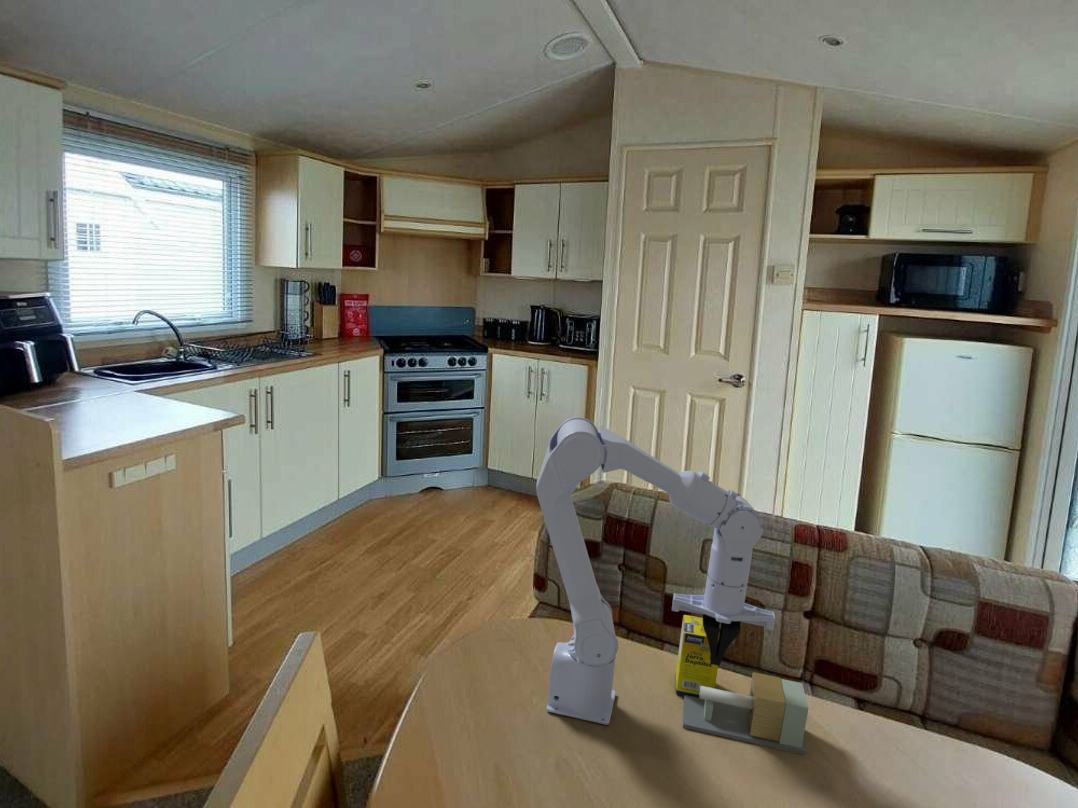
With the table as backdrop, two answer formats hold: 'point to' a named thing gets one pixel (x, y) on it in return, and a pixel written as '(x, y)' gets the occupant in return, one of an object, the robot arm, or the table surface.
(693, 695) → the supplement box
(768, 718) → the block
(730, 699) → the shaft rig
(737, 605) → the robot arm
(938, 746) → the table surface
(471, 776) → the table surface
